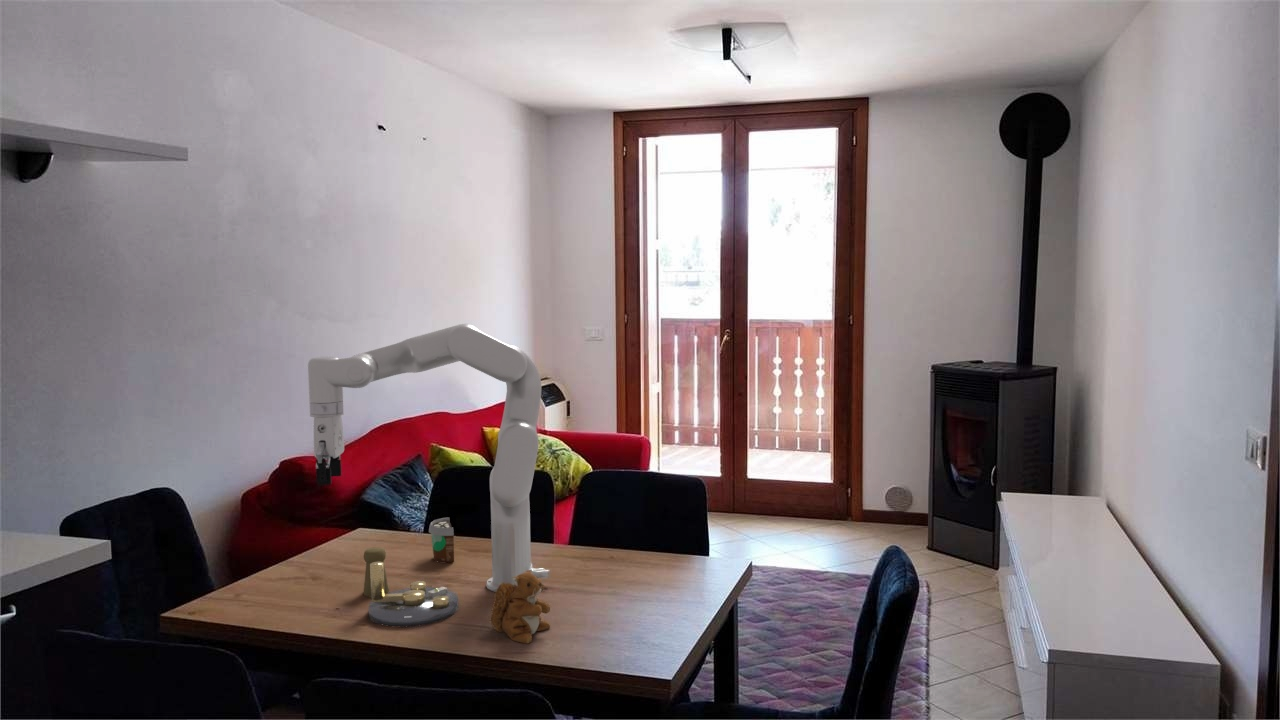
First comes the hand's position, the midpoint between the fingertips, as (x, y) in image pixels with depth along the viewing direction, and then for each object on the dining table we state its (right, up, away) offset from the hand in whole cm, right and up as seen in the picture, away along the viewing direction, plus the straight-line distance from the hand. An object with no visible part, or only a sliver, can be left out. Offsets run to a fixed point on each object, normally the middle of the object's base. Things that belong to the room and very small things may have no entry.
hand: (329, 480), depth 210 cm
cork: (+9, -28, +6) cm, 31 cm away
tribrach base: (+22, -29, -7) cm, 37 cm away
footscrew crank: (+18, -27, -7) cm, 33 cm away
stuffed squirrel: (+48, -30, -20) cm, 60 cm away
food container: (+19, -26, +32) cm, 46 cm away
